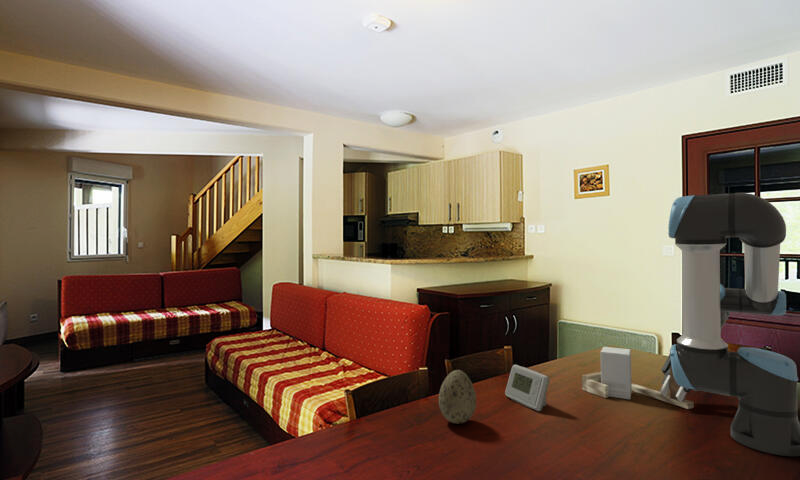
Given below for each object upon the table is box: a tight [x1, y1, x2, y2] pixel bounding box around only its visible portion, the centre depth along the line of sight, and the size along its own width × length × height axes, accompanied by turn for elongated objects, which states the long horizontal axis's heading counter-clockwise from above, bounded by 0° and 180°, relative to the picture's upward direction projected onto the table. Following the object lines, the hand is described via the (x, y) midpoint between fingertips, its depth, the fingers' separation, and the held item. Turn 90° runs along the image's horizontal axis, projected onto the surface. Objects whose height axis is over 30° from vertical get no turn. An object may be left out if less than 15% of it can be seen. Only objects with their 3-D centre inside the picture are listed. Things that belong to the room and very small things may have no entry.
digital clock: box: [504, 364, 550, 412], centre depth 140 cm, size 16×9×11 cm, turn 15°
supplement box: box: [599, 346, 633, 400], centre depth 149 cm, size 9×9×15 cm
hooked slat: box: [581, 367, 695, 410], centre depth 144 cm, size 28×18×12 cm, turn 26°
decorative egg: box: [438, 369, 477, 425], centre depth 125 cm, size 11×11×15 cm
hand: (670, 396), depth 137 cm, fingers open, 4 cm apart
